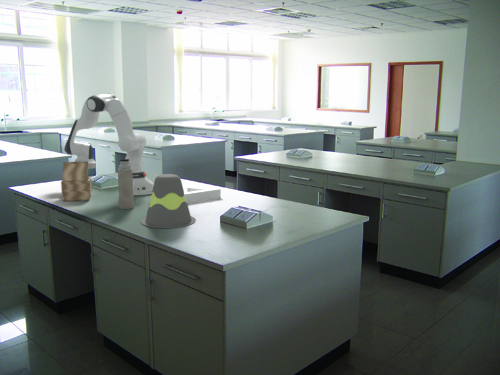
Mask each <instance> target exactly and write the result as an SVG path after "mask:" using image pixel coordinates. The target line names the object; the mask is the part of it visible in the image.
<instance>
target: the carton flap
mask: <svg viewBox="0 0 500 375" xmlns="http://www.w3.org/2000/svg"><path fill="white" fill-rule="evenodd" d="M62 165H63V166H62V179H61V181H62V182H63V181H88V177H89V169H88V162H74V161H63V163H62Z"/></svg>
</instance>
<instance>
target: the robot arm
mask: <svg viewBox="0 0 500 375" xmlns="http://www.w3.org/2000/svg"><path fill="white" fill-rule="evenodd" d="M100 112H101V113H102V112H107V113H108V115H109V116H110V119H111V121H112V124H113V125H114V127H115V129H116V134H117V138H118V141H117V144H118V147H119V150H121V151H122V152H126V156H125V158H124V159H129V164H130V165H131V169H132V175H133V196H145V195H152V190H153V186H154V182H153V181H152V180H150V179H149V178H147V173H146V172H145V171H143V156H144V149H145V146H146V144H147V139H146V137H145V136H144V135H143V134H141V133H137V132H136V133H135V132H134V129H133V121H132V119H131V116H130V114H129V112H128V111H127V109H126V106H125V105H124V104H123V102H122V101H121V100H120V98H117V97H116V95H114V94H112V93H99V94H95V95H91V96H90V97H89V96H88V98H87V99H86V100H85V101H84V104H83V105H82V109H81V115H80V117H79V118H78V119H75V120H74V122H73V123H72V124H73V125H72V127H71V129H70V133H69V135H68V139H67V140H66V142H65V144H64V147H63V150H64V152H65V153H66V154H67V155H71V156H77V157H76V159H74V161H73V162H88V170H93V169H96V168H97V167H96V165H97V163H96V161H95V159H94V158H93V153H94V148H93V145H92V144H91V143H87V142H80V141H77V140H75V139H76V136H77V133H78V132H79V131H81V130H82V131H83V130H89V129H92V128H94V127H96V126H97V124H98V122H99V116H100Z"/></svg>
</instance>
